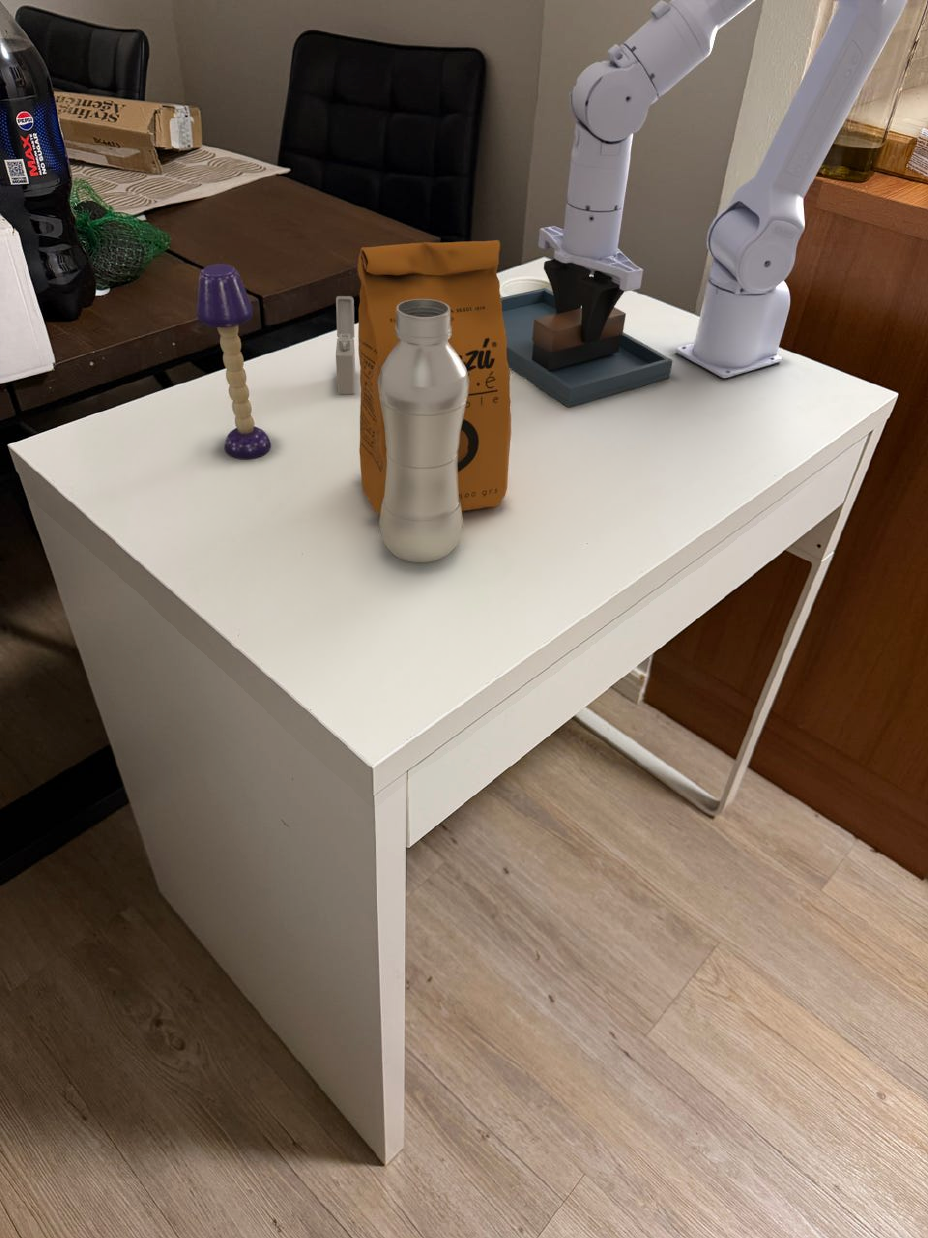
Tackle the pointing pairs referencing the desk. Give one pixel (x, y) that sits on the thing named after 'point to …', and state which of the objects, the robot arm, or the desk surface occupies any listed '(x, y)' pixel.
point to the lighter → (345, 345)
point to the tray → (580, 379)
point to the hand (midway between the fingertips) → (578, 333)
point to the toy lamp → (232, 352)
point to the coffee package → (476, 337)
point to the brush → (573, 339)
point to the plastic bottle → (422, 434)
